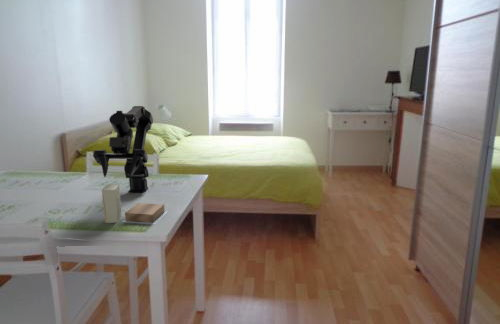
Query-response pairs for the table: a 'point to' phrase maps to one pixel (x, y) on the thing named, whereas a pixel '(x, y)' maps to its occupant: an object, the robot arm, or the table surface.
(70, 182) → the table surface
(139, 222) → the plan sheet
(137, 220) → the walnut plinth
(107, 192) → the skincare box
